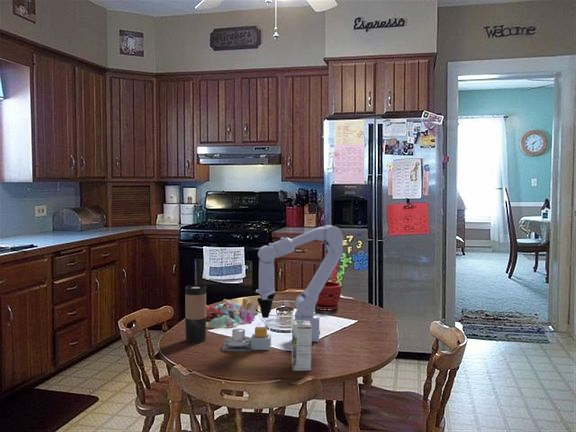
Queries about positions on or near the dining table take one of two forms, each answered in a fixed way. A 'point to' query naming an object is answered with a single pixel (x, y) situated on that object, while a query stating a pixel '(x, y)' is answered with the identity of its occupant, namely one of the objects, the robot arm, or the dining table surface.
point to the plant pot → (329, 296)
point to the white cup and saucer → (237, 342)
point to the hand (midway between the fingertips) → (266, 315)
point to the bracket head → (261, 343)
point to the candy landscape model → (229, 314)
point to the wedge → (261, 332)
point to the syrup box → (301, 345)
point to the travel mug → (195, 313)
